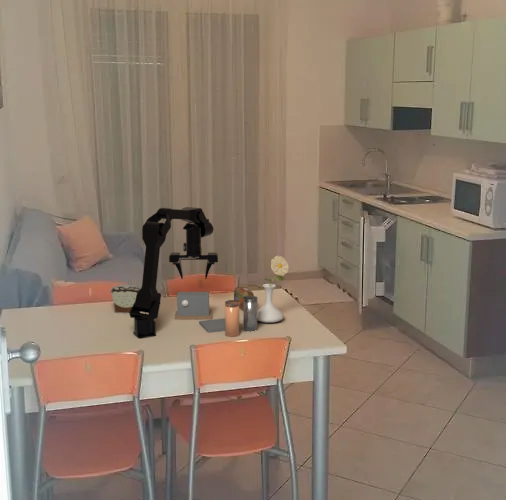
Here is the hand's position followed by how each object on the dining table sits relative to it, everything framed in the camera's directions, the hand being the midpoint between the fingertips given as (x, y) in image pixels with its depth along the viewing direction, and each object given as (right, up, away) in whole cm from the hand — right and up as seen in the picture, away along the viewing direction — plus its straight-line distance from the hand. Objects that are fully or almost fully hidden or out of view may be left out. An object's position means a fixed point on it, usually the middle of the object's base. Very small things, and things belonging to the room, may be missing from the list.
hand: (194, 278), depth 270 cm
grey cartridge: (+22, -18, -19) cm, 34 cm away
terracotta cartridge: (+16, -19, -25) cm, 35 cm away
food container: (-26, -13, +2) cm, 29 cm away
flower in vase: (+30, -16, -9) cm, 35 cm away
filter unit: (0, -14, -4) cm, 15 cm away
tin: (+20, -12, +6) cm, 24 cm away
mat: (+10, -17, -16) cm, 25 cm away
